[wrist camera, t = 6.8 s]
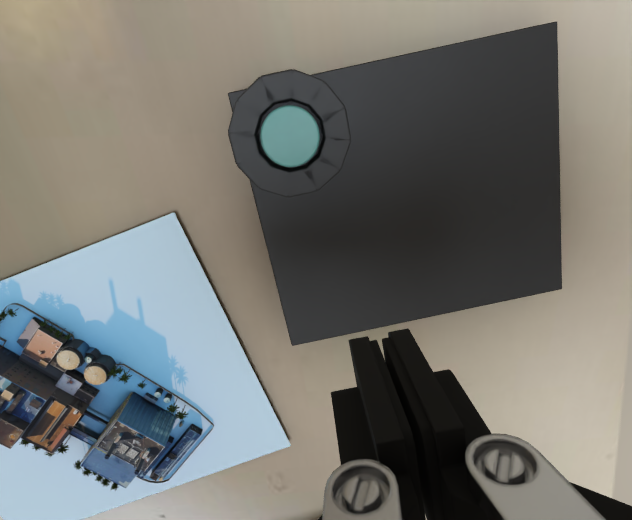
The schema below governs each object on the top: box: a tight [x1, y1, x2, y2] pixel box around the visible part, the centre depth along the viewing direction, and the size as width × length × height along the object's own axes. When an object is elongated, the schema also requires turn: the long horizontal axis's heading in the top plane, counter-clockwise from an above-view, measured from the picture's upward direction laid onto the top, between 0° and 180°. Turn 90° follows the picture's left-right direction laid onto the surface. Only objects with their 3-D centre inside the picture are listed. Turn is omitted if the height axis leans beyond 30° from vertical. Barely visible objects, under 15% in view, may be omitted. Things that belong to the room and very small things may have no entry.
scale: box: [228, 22, 562, 346], centre depth 22 cm, size 16×14×3 cm
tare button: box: [260, 105, 320, 167], centre depth 19 cm, size 3×3×1 cm
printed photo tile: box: [0, 212, 291, 520], centre depth 24 cm, size 20×17×4 cm
